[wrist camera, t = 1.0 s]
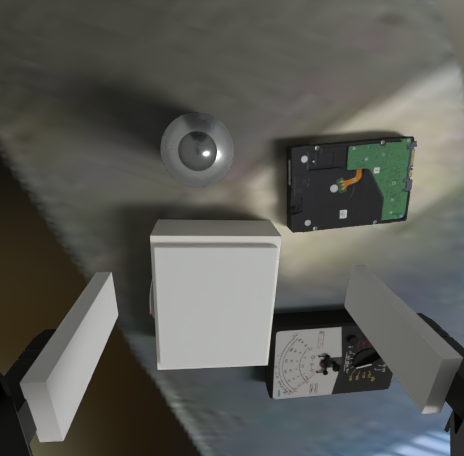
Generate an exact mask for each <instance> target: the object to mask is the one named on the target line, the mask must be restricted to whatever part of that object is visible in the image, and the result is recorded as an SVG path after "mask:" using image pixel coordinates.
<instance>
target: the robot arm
mask: <svg viewBox="0 0 464 456" xmlns="http://www.w3.org/2000/svg"><path fill="white" fill-rule="evenodd" d="M344 307H345V308H346V310H347V311H348V312H349V314H350V315H351V316H352V318H353V319H354V321H355V322H356V323H357V325H358V326H359V328H360V329H361V330H362V332H363V333H364V334H365V336H366V337H367V339H368V340H369V341H370V343H371V344H372V345H373V347H374V348H375V350H376V351H377V352H378V354H379V355H380V356H381V358H382V359H383V361H384V362H385V363H386V365H387V366H388V368H389V369H390V370H391V372H392V373H393V374H394V376H395V377H396V379H397V380H398V381H399V383H400V384H401V385H402V387H403V388H404V390H405V391H406V392H407V394H408V395H409V397H410V398H411V399H412V401H413V402H414V403H415V405H416V406H417V408H418V409H419V410H420V412H421V413H422V414H425V413H438V412H441V410H442V408H443V405H444V403H445V401H446V402H447V403H448V404H449V406H450V407H451V408H452V409H453V411H452V413H451V415H450V418H449V420H448V422H447V425H446V427H445V430H444V431H446V432H448V431H449V428H450V453H451V456H464V348H463V347H462V346H461V345H460V344H459V343H458V342H457V341H455V340H454V339H453V338H452V337H450V335H449V334H448V333H447V332H446V331H444V330H442V328H441V327H440V326H439V325H438V324H437V323H436V322H434V321H433V320H432V319H430V318H428V317H427V316H425V315H423V314H421V313H415V312H414V311H413V310H412V309H411V308H410V307H409V306H408V305H407V304H406V303H405V302H403V301H402V300H401V299H400V298H399V297H398V296H397V295H396V294H395V293H394V292H393V291H392V290H391V289H390V288H389V287H388V286H386V285H385V284H384V283H383V282H382V281H381V280H380V279H379V278H378V277H377V276H376V275H375V274H374V273H373V272H372V271H371V270H370V269H368V268H367V267H366V266H365V265H359V266H352V269H351V274H350V279H349V284H348V289H347V294H346V299H345V304H344ZM117 317H118V310H117V304H116V297H115V291H114V284H113V278H112V272H96V274H95V275H94V277H93V278H92V279H91V281H90V282H89V284H88V285H87V287H86V288H85V290H84V291H83V292H82V294H81V295H80V297H79V298H78V300H77V301H76V303H75V304H74V305H73V307H72V308H71V310H70V311H69V313H68V314H67V315H66V317H65V318H64V320H63V321H62V323H61V324H60V326H59V327H58V328H57V329H51V330H44V331H43V332H42V333H40V334H39V335H38V336H36V337H35V338H34V339H33V340H32V341H31V342H30V344H29V345H28V346H27V347H26V349H25V351H23V353H22V354H21V355H20V357H19V359H18V360H17V361H16V362H15V363H14V364H13V366H12V367H11V368H10V370H9V371H8V372H7V374H6V375H5V376H3V375H2V374H1V373H0V456H33V454H32V451H31V448H30V445H29V444H30V442H31V440H32V438H33V436H34V434H35V432H37V435H38V438H39V441H40V442H48V441H49V442H50V441H63V440H64V437H65V436H66V433H67V431H68V429H69V427H70V424H71V422H72V420H73V418H74V415H75V413H76V411H77V408H78V406H79V404H80V401H81V399H82V397H83V395H84V392H85V390H86V388H87V386H88V383H89V381H90V379H91V376H92V374H93V372H94V369H95V367H96V365H97V363H98V360H99V358H100V355H101V353H102V351H103V349H104V347H105V344H106V342H107V340H108V337H109V335H110V333H111V330H112V328H113V326H114V324H115V321H116V319H117Z"/></svg>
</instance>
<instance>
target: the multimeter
mask: <svg viewBox="0 0 464 456" xmlns="http://www.w3.org/2000/svg"><path fill="white" fill-rule="evenodd" d="M392 374H393V373H392V372H391V370H390V369H389V368H388V366H387V365H386V363H385V362H384V361H383V359H382V358H381V356H380V355H379V354H378V352H377V351H376V350H375V348H374V347H373V345H372V344H371V343H370V341H369V340H368V339H367V337H366V336H365V334H364V333H363V332H362V330H361V329H360V328H359V326H358V325H357V323H356V322H355V321H354V319H353V318H352V316H351V315H350V314H349V312H348V311H347V310H333V311H318V312H303V313H287V314H273V320H272V329H271V339H270V348H269V358H268V365H266V387H267V391H268V394H269V396H270V398H272V399H283V398H295V397H306V396H317V395H328V394H339V393H350V392H361V391H372V390H383V389H388V388H389V386H390V383H391V378H392Z"/></svg>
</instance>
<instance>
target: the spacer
mask: <svg viewBox="0 0 464 456" xmlns="http://www.w3.org/2000/svg"><path fill="white" fill-rule="evenodd" d="M161 157H162V161H163V163H164V166H165V168H166V169H167V171H168V172H169V174H170V175H171V176H172V177H173V178H174V179H176V180H177V181H178V182H180V183H182V184H184V185H187V186H190V187H197V188H200V187H207V186H210V185H213V184H215V183H217V182H218V181H220V180H221V179H222V178H223V177H224V176H225V175H226V174H227V172H228V171H229V169H230V167H231V165H232V162H233V157H234V145H233V141H232V138H231V135H230V133H229V131H228V130H227V128H226V127H225V126H224V125H223V124H222V123H221V122H220V121H219V120H218V119H216V118H215V117H213V116H211V115H208V114H205V113H199V112H193V113H187V114H184V115H182V116H180V117H178V118H176V119H175V120H174V121H172V122H171V123H170V125H169V126H168V127H167V129H166V130H165V132H164V134H163V137H162V140H161Z"/></svg>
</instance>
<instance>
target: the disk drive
mask: <svg viewBox="0 0 464 456" xmlns="http://www.w3.org/2000/svg"><path fill="white" fill-rule="evenodd" d="M414 147H417V141H414V137H387V138H380V139H369V140H358V141H346V142H334V143H323V144H312V145H311V144H305V145H298V146H288V147H287V148H286V149H287V150H286V151H287V227H288V228H289V229H290V230H291V231H292V232H293V233H294V232H309V231H314V230H325V229H333V228H342V227H353V226H360V225H361V226H363V225H372V224H383V223H392V222H400V221H406V219H407V213H408V205H409V198H410V191H411V188H412V179H411V180H410V177H411V176H412V170H413V169H412V168H411V167H413V160H414V153H415V149H414Z"/></svg>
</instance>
